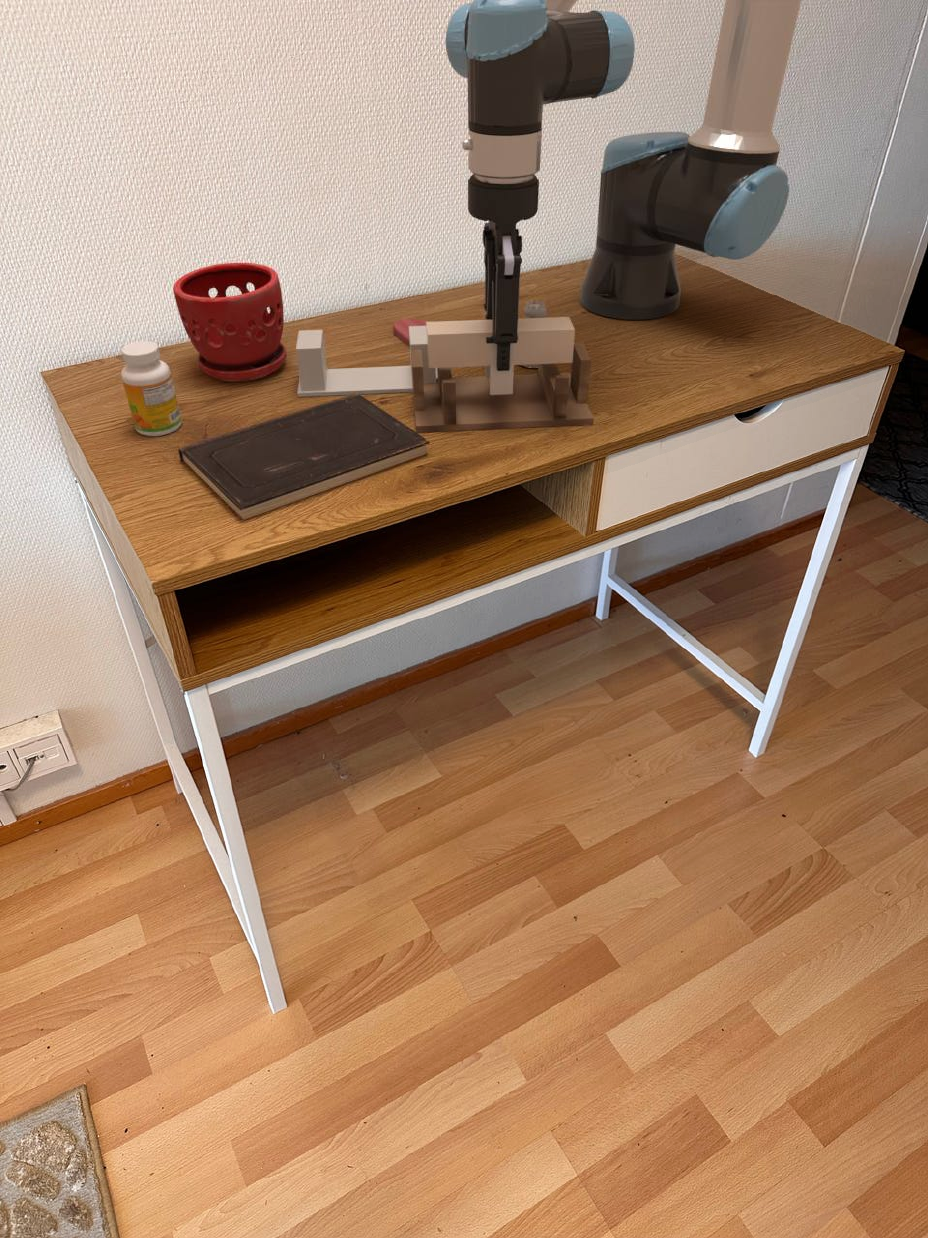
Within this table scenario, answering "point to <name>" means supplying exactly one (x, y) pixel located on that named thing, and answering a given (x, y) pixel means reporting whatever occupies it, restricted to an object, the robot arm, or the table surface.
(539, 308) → the rook chess piece
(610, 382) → the table surface
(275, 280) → the plant pot
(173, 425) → the supplement bottle
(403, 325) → the popsicle
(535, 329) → the beige rectangular bar
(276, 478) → the hardcover book
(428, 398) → the rack
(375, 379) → the stand
